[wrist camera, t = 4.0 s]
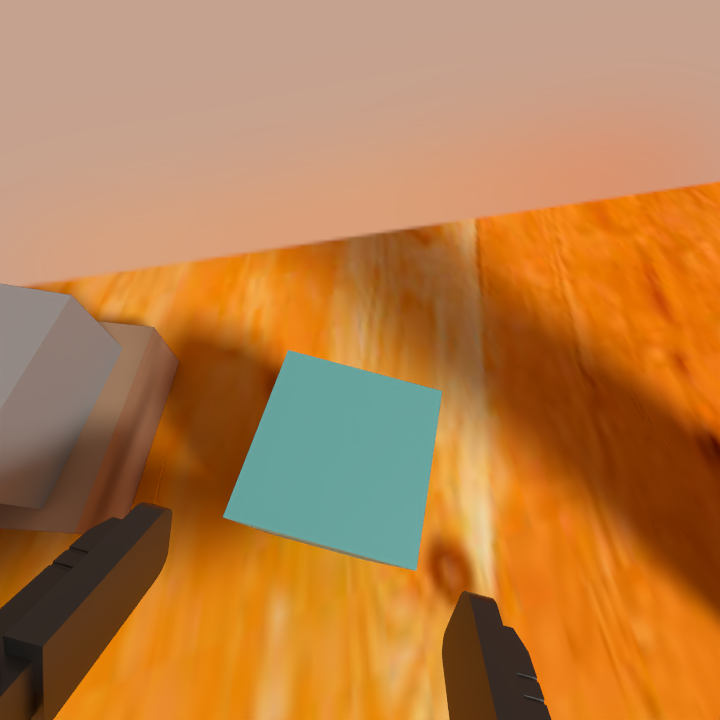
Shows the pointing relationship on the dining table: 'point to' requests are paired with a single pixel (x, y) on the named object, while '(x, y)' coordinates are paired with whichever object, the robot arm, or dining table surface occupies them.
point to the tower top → (45, 387)
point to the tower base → (108, 440)
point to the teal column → (341, 461)
